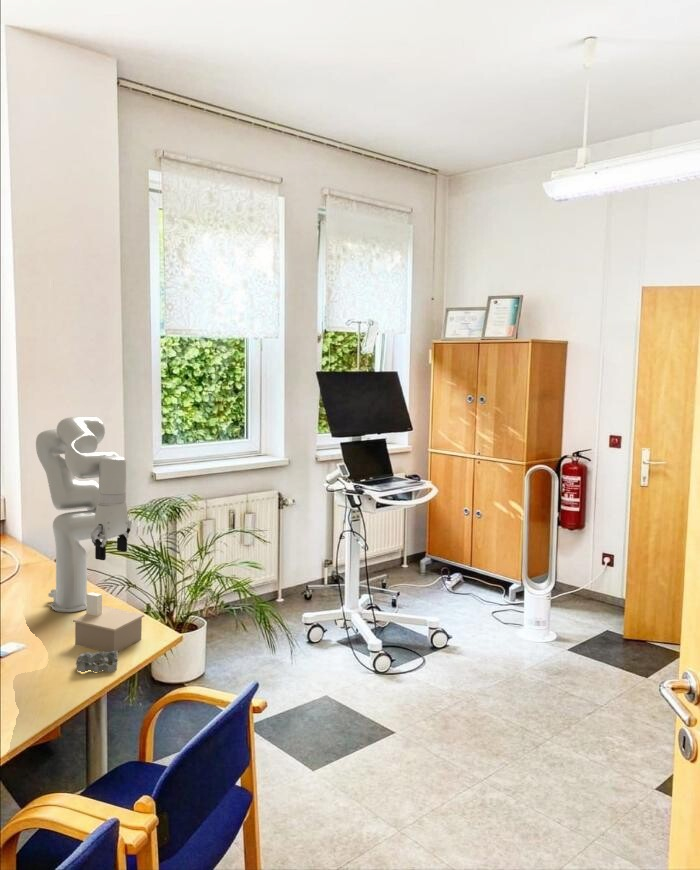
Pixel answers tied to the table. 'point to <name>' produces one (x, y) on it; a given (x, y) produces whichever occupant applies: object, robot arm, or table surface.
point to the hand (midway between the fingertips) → (111, 555)
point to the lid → (105, 615)
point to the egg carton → (97, 661)
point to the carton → (107, 636)
